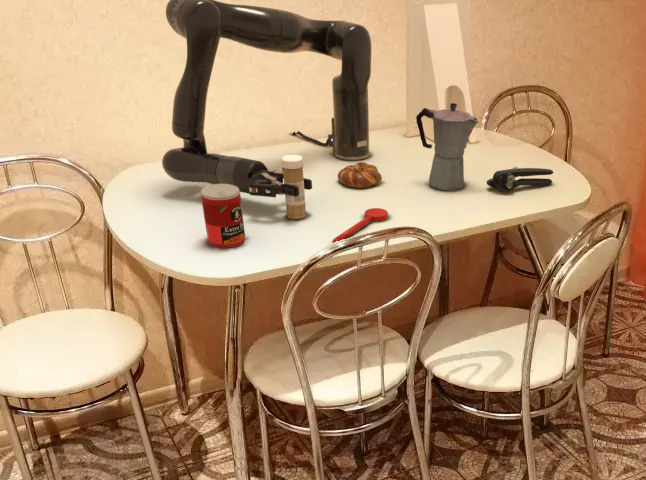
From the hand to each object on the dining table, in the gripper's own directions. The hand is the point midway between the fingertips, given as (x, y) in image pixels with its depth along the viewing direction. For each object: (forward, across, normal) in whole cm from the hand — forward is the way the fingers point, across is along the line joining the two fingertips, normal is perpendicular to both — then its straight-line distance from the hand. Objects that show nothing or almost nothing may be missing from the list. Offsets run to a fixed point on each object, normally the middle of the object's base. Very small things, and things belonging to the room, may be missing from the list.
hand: (304, 188), depth 169 cm
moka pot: (+18, +35, +7) cm, 40 cm away
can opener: (+35, +43, +7) cm, 56 cm away
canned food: (-8, -18, +7) cm, 21 cm away
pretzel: (-2, +27, +7) cm, 28 cm away
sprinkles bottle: (-3, 0, +7) cm, 8 cm away
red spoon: (+13, +1, +7) cm, 15 cm away
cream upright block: (+1, +71, +7) cm, 72 cm away
